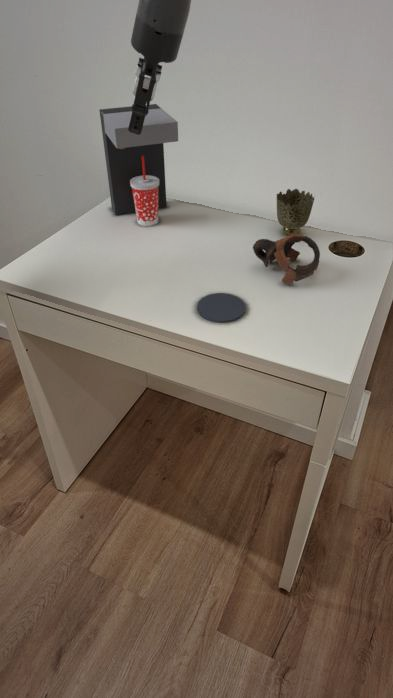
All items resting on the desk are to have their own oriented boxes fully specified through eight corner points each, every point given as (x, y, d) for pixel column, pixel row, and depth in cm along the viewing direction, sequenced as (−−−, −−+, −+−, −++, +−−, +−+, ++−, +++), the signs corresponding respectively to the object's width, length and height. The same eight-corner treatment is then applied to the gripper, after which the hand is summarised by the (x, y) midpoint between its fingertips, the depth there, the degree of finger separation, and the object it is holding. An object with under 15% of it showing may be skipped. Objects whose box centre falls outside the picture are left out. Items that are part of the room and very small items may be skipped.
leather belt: (310, 260, 92) (328, 236, 85) (303, 302, 89) (320, 281, 81) (251, 242, 92) (263, 216, 84) (241, 283, 88) (253, 260, 81)
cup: (287, 244, 97) (291, 206, 91) (265, 230, 101) (269, 193, 96) (316, 235, 99) (322, 198, 94) (294, 222, 104) (298, 186, 99)
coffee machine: (181, 226, 103) (177, 121, 90) (126, 235, 100) (114, 128, 87) (161, 200, 114) (156, 103, 100) (111, 208, 111) (99, 109, 97)
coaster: (192, 319, 77) (192, 317, 77) (203, 292, 83) (203, 290, 83) (241, 325, 76) (241, 323, 76) (248, 298, 82) (248, 296, 82)
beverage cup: (132, 216, 107) (126, 152, 98) (159, 214, 108) (155, 149, 99) (135, 228, 102) (128, 162, 93) (163, 225, 103) (159, 159, 94)
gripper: (141, -5, 76) (120, 96, 88) (132, 25, 67) (110, 133, 79) (186, 13, 78) (159, 110, 90) (183, 45, 69) (154, 147, 81)
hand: (136, 120), depth 85 cm, fingers open, 8 cm apart
